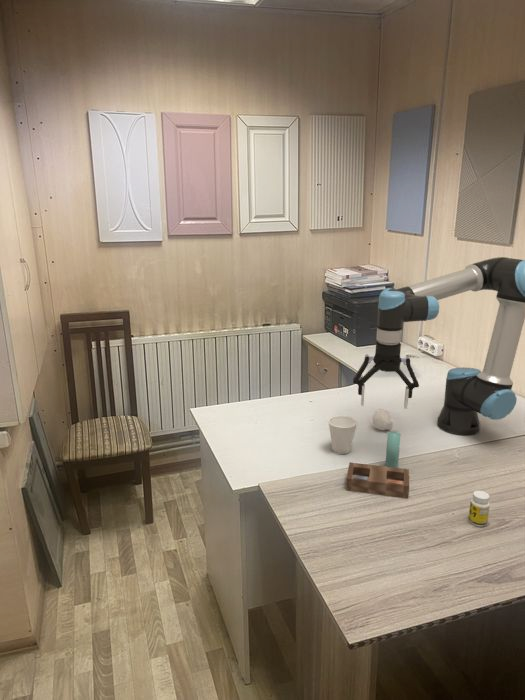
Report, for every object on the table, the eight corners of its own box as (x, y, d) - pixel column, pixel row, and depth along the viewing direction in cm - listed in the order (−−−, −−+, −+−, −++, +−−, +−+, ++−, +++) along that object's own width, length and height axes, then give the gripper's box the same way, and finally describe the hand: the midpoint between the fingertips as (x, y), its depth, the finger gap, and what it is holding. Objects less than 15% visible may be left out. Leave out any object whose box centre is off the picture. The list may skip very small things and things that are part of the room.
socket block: (407, 480, 159) (408, 468, 158) (408, 498, 150) (409, 485, 149) (349, 473, 164) (349, 461, 163) (345, 490, 154) (346, 477, 153)
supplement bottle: (465, 516, 142) (468, 489, 139) (481, 516, 142) (485, 489, 140) (473, 527, 137) (477, 499, 135) (490, 526, 137) (494, 499, 135)
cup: (358, 446, 182) (359, 417, 178) (353, 459, 173) (354, 429, 169) (330, 442, 185) (331, 413, 182) (324, 454, 176) (325, 425, 173)
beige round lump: (392, 434, 191) (394, 415, 188) (371, 432, 192) (372, 413, 190) (391, 425, 198) (393, 406, 196) (371, 423, 200) (372, 405, 197)
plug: (397, 465, 169) (400, 432, 165) (397, 471, 165) (400, 437, 161) (385, 464, 170) (387, 430, 166) (385, 470, 166) (387, 436, 162)
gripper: (428, 340, 161) (422, 403, 167) (347, 336, 165) (344, 398, 171) (432, 347, 154) (425, 412, 160) (347, 343, 158) (344, 407, 164)
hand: (383, 405), depth 166 cm, fingers open, 13 cm apart
